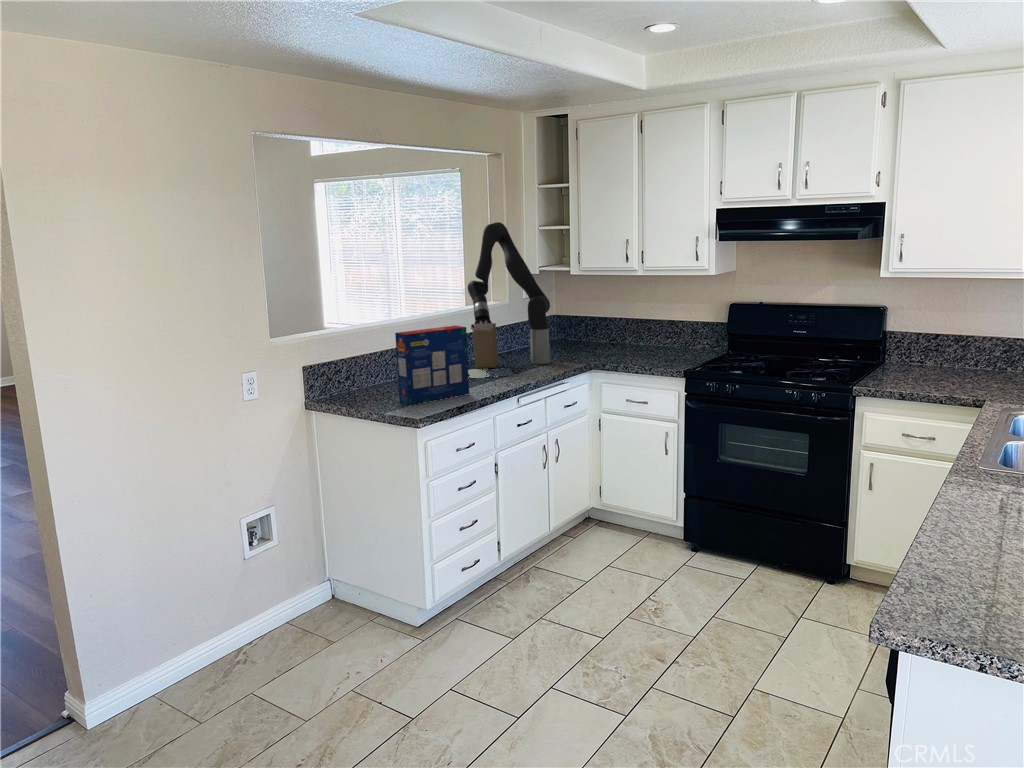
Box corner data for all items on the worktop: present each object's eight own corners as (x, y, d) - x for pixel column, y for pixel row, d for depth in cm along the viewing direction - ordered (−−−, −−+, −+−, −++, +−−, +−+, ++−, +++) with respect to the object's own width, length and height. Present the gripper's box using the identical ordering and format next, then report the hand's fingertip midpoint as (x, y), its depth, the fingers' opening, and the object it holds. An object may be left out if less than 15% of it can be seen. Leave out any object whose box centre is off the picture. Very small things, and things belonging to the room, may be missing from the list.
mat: (509, 367, 373) (509, 367, 373) (516, 376, 352) (516, 375, 352) (463, 370, 370) (463, 369, 370) (468, 379, 349) (468, 378, 349)
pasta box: (458, 391, 322) (455, 325, 317) (469, 394, 316) (466, 327, 310) (399, 402, 306) (395, 332, 300) (409, 405, 299) (405, 334, 294)
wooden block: (498, 359, 381) (495, 322, 371) (495, 368, 372) (493, 331, 363) (478, 359, 382) (474, 322, 372) (475, 369, 373) (472, 331, 364)
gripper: (468, 308, 382) (472, 336, 373) (495, 307, 384) (499, 334, 375) (468, 318, 389) (471, 345, 379) (494, 316, 391) (498, 344, 381)
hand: (485, 340), depth 377 cm, fingers closed
